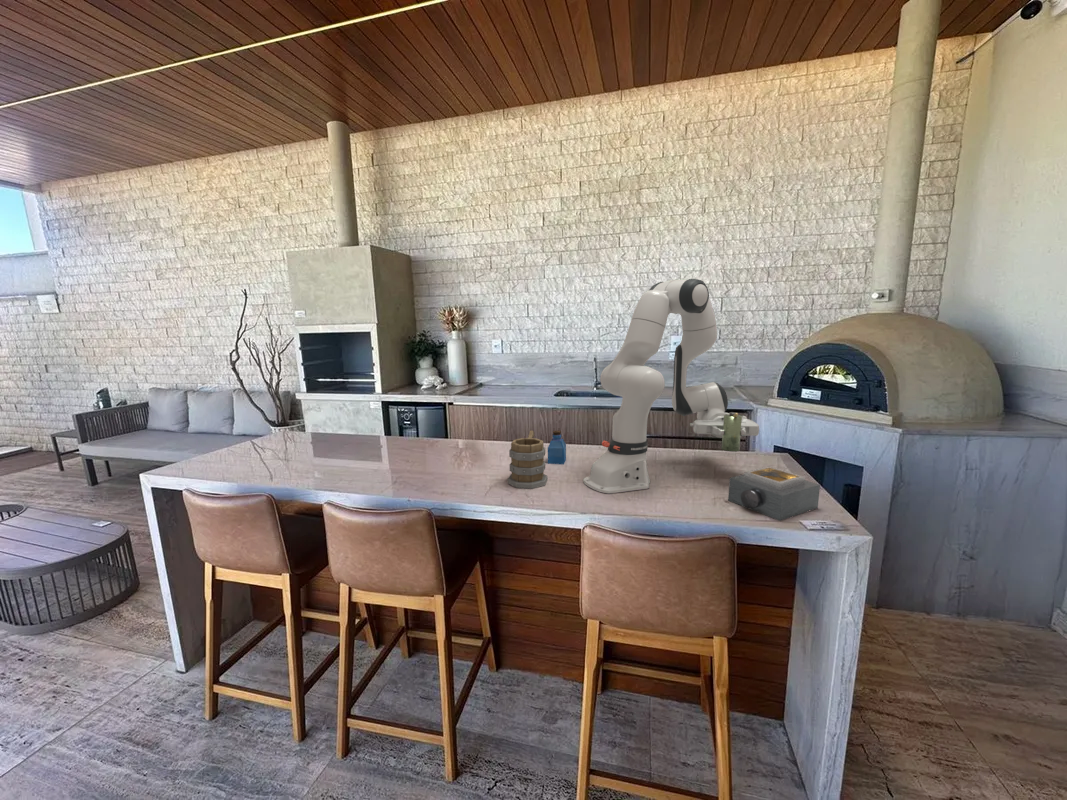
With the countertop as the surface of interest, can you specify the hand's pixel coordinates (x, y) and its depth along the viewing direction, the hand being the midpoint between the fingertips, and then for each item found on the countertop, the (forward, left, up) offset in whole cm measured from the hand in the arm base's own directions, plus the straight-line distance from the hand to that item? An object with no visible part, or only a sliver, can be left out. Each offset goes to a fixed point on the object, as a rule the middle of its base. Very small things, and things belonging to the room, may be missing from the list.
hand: (732, 433), depth 139 cm
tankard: (-53, +38, -18) cm, 68 cm away
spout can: (0, +1, -6) cm, 6 cm away
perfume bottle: (-35, +50, -18) cm, 64 cm away
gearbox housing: (-2, -16, -17) cm, 24 cm away
